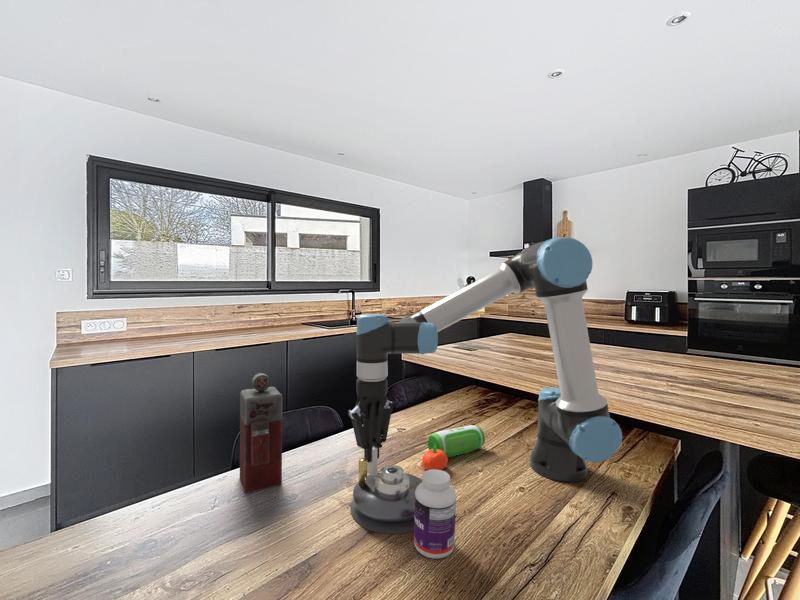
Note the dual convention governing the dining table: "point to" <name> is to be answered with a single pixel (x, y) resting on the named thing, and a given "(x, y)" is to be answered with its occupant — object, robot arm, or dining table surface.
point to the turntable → (379, 508)
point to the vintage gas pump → (260, 435)
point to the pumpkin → (434, 459)
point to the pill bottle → (435, 515)
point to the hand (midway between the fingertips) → (371, 473)
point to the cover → (392, 484)
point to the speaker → (457, 440)
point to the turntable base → (381, 524)
